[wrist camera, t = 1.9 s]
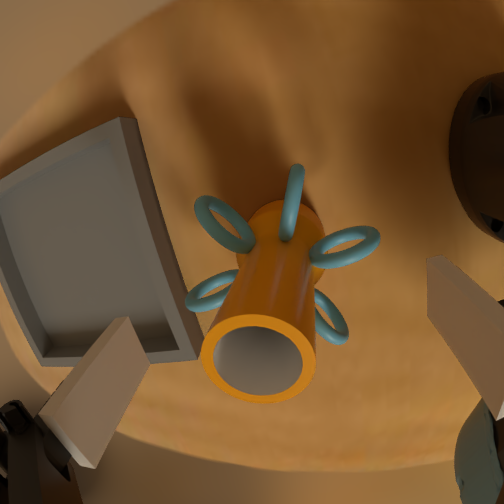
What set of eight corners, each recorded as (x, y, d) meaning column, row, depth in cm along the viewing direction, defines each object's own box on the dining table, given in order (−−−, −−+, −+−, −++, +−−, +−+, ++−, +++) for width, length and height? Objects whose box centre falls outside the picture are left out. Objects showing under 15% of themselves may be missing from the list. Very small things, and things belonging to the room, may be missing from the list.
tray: (136, 118, 23) (118, 116, 20) (205, 340, 29) (197, 359, 26) (-8, 192, 26) (-27, 198, 23) (54, 352, 32) (41, 366, 29)
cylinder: (229, 146, 23) (120, 158, 9) (369, 173, 22) (460, 224, 8) (210, 293, 27) (131, 424, 13) (331, 318, 26) (341, 471, 12)
